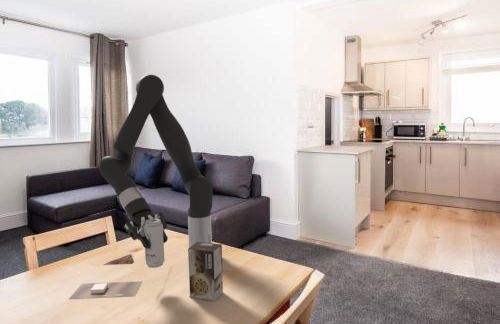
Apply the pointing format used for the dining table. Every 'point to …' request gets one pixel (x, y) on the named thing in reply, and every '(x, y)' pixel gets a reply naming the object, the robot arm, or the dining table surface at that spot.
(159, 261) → the energy drink can
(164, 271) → the dining table surface
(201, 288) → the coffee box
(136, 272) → the dining table surface
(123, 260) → the wooden fragment
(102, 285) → the white square tile
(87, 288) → the walnut board
